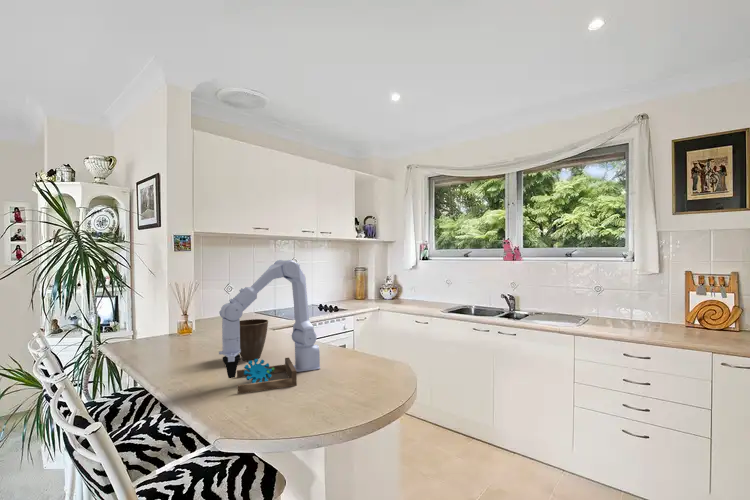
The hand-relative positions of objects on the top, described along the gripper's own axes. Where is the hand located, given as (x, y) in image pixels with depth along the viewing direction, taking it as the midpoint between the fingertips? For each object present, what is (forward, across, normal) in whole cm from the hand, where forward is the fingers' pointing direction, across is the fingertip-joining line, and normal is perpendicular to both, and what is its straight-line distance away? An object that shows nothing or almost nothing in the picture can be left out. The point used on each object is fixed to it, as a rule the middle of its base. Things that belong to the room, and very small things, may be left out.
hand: (231, 377), depth 126 cm
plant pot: (+3, -33, +8) cm, 34 cm away
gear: (+3, 0, +9) cm, 10 cm away
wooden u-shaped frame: (+3, 0, +11) cm, 11 cm away
